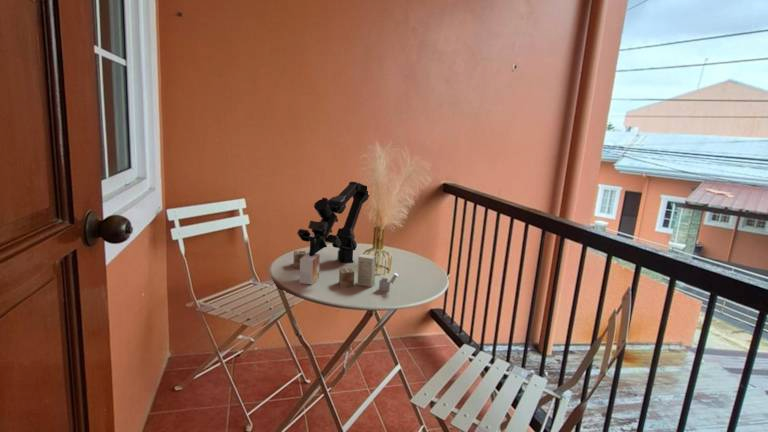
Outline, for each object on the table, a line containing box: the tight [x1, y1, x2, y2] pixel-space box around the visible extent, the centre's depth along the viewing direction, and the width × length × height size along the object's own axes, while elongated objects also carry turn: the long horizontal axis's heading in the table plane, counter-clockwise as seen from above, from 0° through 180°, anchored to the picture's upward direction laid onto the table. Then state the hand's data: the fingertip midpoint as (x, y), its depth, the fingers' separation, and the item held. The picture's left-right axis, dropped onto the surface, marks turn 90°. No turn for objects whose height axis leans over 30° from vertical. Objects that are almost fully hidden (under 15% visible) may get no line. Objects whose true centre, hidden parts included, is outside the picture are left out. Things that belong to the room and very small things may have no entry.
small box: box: [299, 252, 321, 285], centre depth 161 cm, size 8×6×10 cm
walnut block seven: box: [293, 250, 307, 269], centre depth 177 cm, size 5×5×6 cm
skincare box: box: [357, 253, 376, 288], centre depth 161 cm, size 6×4×12 cm
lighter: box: [378, 272, 399, 293], centre depth 157 cm, size 7×2×8 cm, turn 75°
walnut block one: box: [338, 267, 355, 288], centre depth 160 cm, size 5×5×6 cm
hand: (310, 255), depth 159 cm, fingers closed, pressing on small box
